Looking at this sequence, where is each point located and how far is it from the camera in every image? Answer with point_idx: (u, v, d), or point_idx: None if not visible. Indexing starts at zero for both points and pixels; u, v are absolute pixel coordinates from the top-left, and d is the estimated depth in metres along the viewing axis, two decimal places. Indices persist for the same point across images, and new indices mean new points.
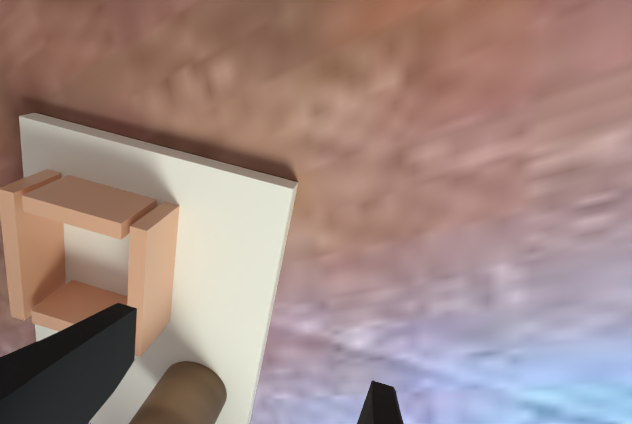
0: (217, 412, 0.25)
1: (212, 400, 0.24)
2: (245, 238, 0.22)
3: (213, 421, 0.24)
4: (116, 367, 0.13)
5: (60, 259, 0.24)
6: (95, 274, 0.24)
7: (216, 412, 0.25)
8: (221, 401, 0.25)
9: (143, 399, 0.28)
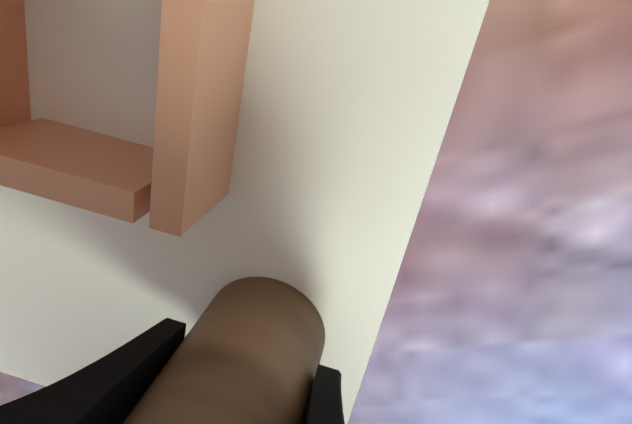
0: None
1: (310, 343, 0.13)
2: None
3: None
4: None
5: (18, 67, 0.12)
6: (86, 101, 0.13)
7: (316, 367, 0.13)
8: (320, 350, 0.14)
9: None
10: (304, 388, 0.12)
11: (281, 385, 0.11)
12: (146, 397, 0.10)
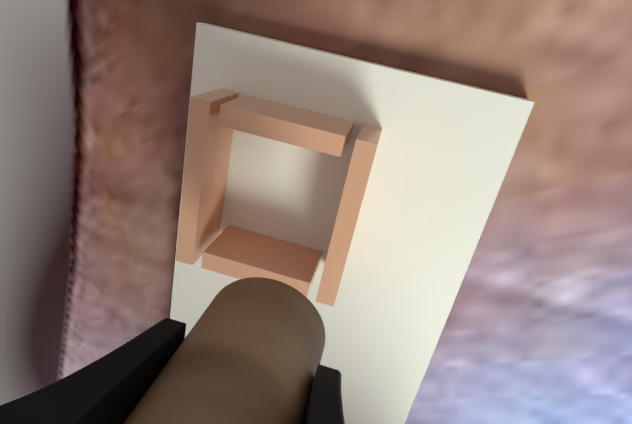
0: None
1: (310, 344, 0.13)
2: (459, 167, 0.19)
3: None
4: None
5: (222, 199, 0.21)
6: (259, 217, 0.21)
7: (316, 367, 0.13)
8: (321, 350, 0.14)
9: None
10: (304, 389, 0.12)
11: (282, 385, 0.11)
12: (146, 398, 0.10)
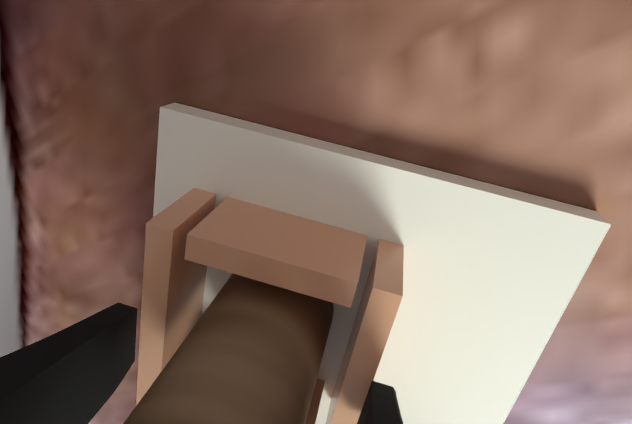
0: (326, 336, 0.14)
1: (320, 313, 0.14)
2: (504, 296, 0.14)
3: (323, 349, 0.14)
4: (116, 367, 0.13)
5: (197, 317, 0.17)
6: None
7: (326, 334, 0.14)
8: (330, 320, 0.15)
9: None
10: (317, 350, 0.13)
11: (297, 344, 0.12)
12: (179, 352, 0.11)
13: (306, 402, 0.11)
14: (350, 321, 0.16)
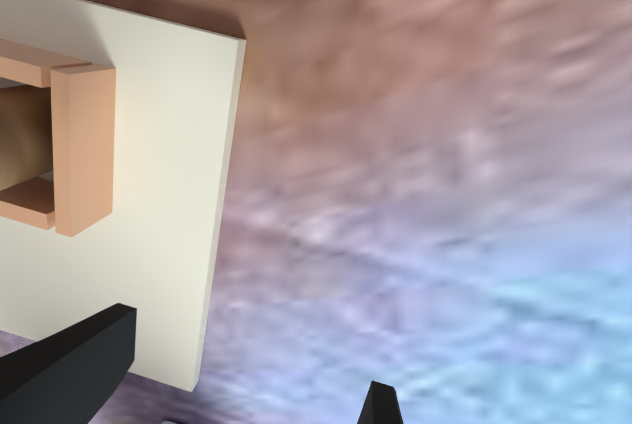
0: None
1: None
2: (188, 105, 0.20)
3: None
4: (116, 367, 0.13)
5: None
6: None
7: None
8: None
9: (88, 309, 0.25)
10: (34, 129, 0.18)
11: (6, 113, 0.17)
12: None
13: (3, 146, 0.17)
14: None
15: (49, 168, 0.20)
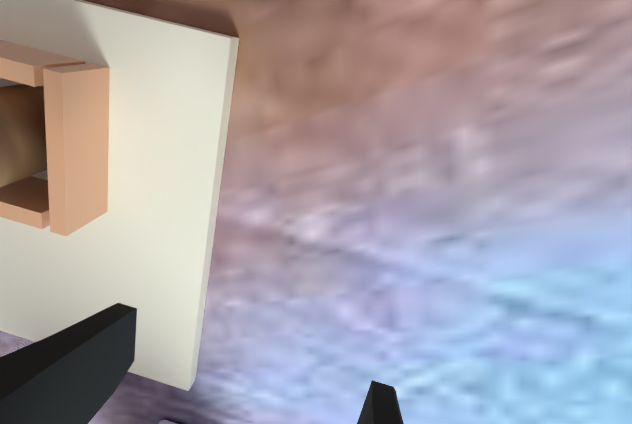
0: None
1: None
2: (182, 104, 0.20)
3: None
4: (116, 367, 0.13)
5: None
6: None
7: None
8: None
9: (84, 309, 0.25)
10: (28, 128, 0.18)
11: None
12: None
13: None
14: None
15: (43, 167, 0.20)
